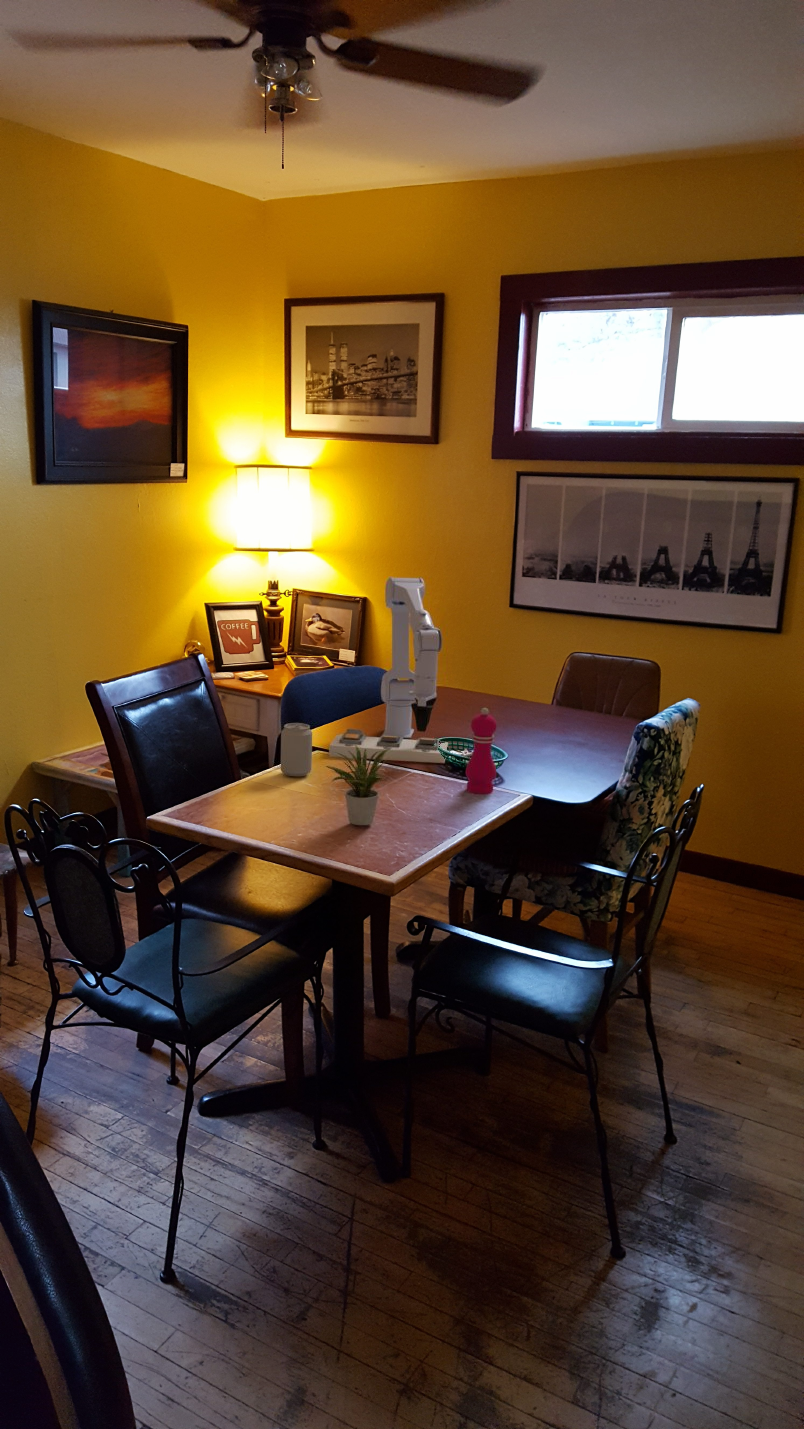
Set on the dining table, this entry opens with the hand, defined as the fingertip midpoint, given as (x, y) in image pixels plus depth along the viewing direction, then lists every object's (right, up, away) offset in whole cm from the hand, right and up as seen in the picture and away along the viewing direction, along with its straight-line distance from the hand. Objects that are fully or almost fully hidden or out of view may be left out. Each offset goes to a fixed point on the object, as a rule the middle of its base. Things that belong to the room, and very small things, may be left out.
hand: (422, 727), depth 264 cm
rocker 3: (+1, -4, +4) cm, 6 cm away
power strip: (-3, -8, +5) cm, 10 cm away
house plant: (-14, -19, -47) cm, 52 cm away
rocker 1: (-18, -2, +7) cm, 20 cm away
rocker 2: (-8, -3, +6) cm, 11 cm away
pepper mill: (+13, -15, -22) cm, 30 cm away
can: (-31, -11, -15) cm, 36 cm away
